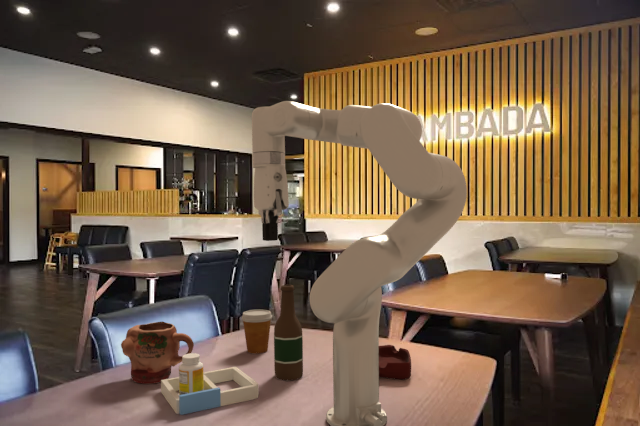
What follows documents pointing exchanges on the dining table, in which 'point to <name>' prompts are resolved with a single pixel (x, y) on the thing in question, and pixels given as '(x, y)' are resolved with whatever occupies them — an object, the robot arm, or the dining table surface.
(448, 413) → the dining table surface
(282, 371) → the beer bottle
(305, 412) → the dining table surface
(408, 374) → the ashtray
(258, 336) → the disposable coffee cup
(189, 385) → the supplement bottle
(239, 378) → the white divided tray
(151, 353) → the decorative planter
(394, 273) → the robot arm
